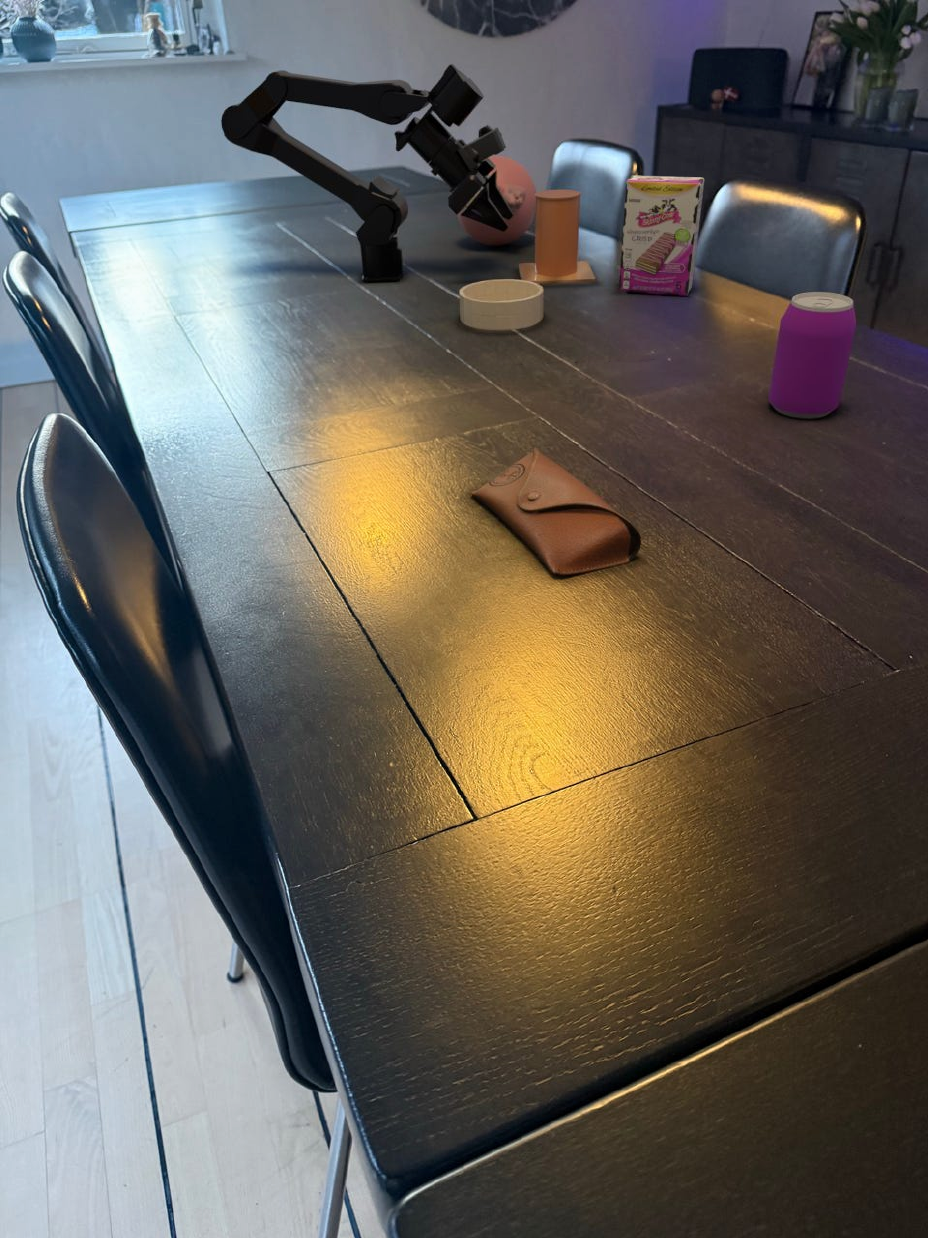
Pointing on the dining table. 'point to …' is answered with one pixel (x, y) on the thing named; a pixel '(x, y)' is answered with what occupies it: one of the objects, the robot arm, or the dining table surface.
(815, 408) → the beverage can
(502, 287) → the cream round container
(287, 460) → the dining table surface
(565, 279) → the plate
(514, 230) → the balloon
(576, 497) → the sunglasses case
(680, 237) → the candy bar box
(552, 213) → the orange lidded canister
